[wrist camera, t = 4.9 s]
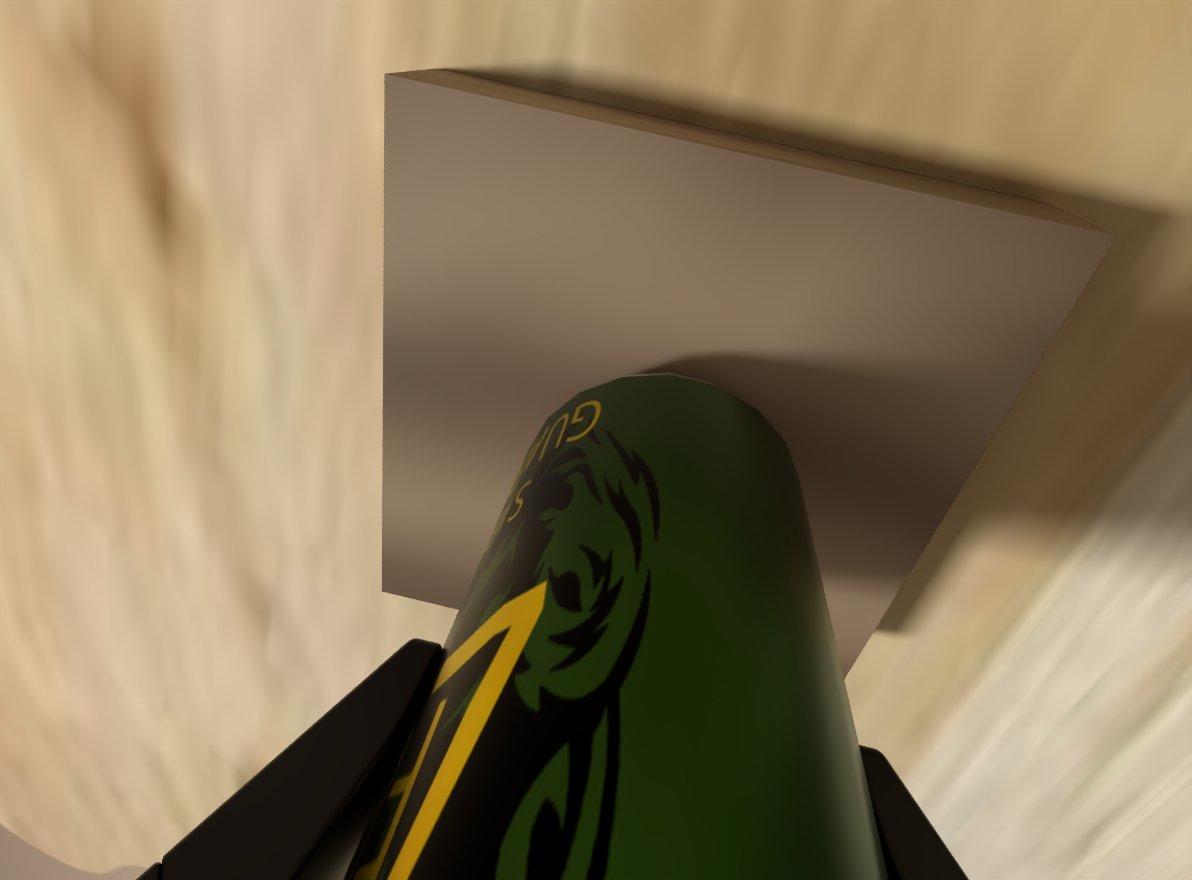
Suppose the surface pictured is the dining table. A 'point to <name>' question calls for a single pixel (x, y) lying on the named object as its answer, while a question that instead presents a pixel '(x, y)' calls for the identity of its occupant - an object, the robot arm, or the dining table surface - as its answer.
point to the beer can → (637, 669)
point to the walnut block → (695, 316)
